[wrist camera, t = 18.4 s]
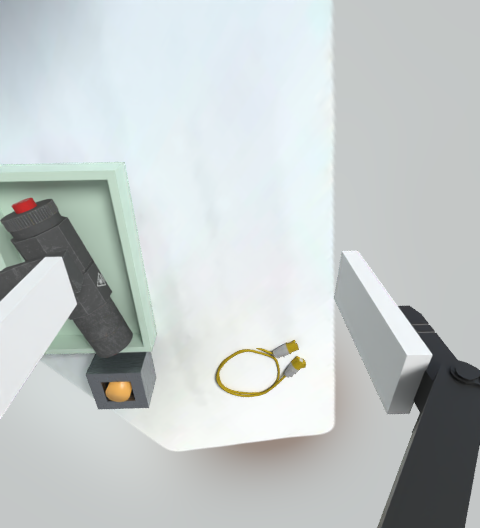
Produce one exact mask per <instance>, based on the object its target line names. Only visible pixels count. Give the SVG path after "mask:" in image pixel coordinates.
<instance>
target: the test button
mask: <svg viewBox="0 0 480 528" xmlns="http://www.w3.org/2000/svg"><path fill="white" fill-rule="evenodd" d="M131 391H132V386H131V382H109V384H108V387H107V390H106V396H107V398H109V399H110V400H112V401H115V402H124V401H126V400H128V399H129V397H130V394H131Z"/></svg>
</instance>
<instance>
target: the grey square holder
mask: <svg viewBox="0 0 480 528" xmlns="http://www.w3.org/2000/svg"><path fill="white" fill-rule="evenodd" d="M86 376H87V379H88V382H89V385H90V387H91V390H92V393H93V396H94V398H95V401H96V404H97V407H98V409H124V408H149V405H150V401H151V397H152V393H153V389H154V385H155V380H156V374H155V369H154V365H153V360H152V355H151V352H120V353H117V354H115V355H113V356H110V357H106V358H102V357H99V356H98V355H97V354H95V356H94V358H93V360H92V363H91V365H90V367H89V369H88V371H87V373H86ZM109 382H131V386H132V391H131V394H130V397H129V399H128V400H126V401H124V402H115V401H112V400H110V399H109V398H107V396H106V390H107V387H108V384H109Z"/></svg>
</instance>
